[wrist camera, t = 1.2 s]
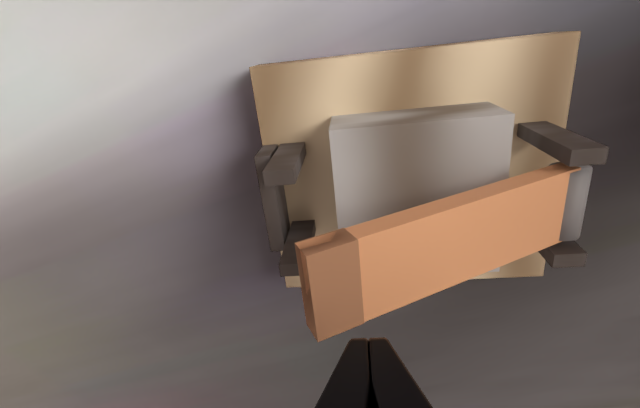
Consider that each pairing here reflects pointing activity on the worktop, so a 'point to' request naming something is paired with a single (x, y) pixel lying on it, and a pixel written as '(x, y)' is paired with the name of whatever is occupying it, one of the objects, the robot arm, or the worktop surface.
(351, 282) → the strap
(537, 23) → the worktop surface
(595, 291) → the worktop surface
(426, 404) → the robot arm
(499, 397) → the worktop surface
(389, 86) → the clamp base
